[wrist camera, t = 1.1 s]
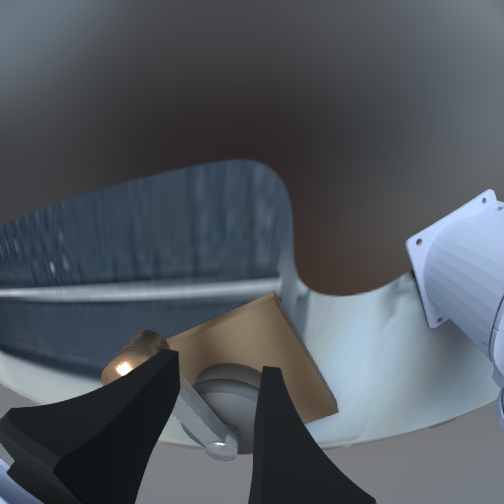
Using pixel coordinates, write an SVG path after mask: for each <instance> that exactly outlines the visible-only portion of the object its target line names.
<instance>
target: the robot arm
mask: <svg viewBox="0 0 504 504" xmlns="http://www.w3.org/2000/svg"><path fill="white" fill-rule="evenodd" d="M483 199H484V202H483V203H482V200H483ZM417 239H420V242H419V244H418V245H416V241H417ZM406 250H407V253H408V256H409V259H410V262H411V265H412V268H413V271H414V274H415V277H416V281H417V284H418V288H419V291H420V295H421V298H422V302H423V306H424V310H425V314H426V318H427V322H428V325H429V327H430V328H432V329H434V328H436V327H438V326H439V325H441V324H442V323H444V322H445V321H447V320H448V319H451V320H452V321H453V322H454V323H455V324H456V325H457V326H458V327H459V328H460V329H461V330H462V331H463V332H464V333H465V334H466V335H467V336H468V337H469V338H470V339H471V340H472V341H473V342H474V344H475V345H476V346H477V347H478V348H479V349H480V350H481V351H482V352H483V353H484V354H485V355H486V356H487V357H488V359H489V360H490V361H491V362H492V363H493V365H494V372H493V375H492V378H493V380H494V381H495V382H496V383H497V385H498V386H499V387H500V388H501V390H500V392H499V395H498V398H497V404H496V414H497V419H498V422H499V425H500V427H501V429H502V431H503V433H504V202H499V201H497V200H496V196H495V193H494V191H493V190H490V189H489V190H487V191H485V192H484V193H482V194H481V195H479V196H477V197H476V198H474V199H473V200H471V201H470V202H468V203H467V204H465V205H464V206H462V207H460V208H459V209H457V210H456V211H454V212H452V213H451V214H449V215H448V216H446V217H444V218H443V219H441V220H439V221H438V222H436V223H434V224H433V225H431V226H429V227H428V228H426V229H424V230H423V231H421V232H419V233H418V234H416V235H414V236H412V237H410V238H409V239H408V240H407V241H406ZM439 318H440V319H439ZM438 319H439V320H438ZM437 320H438V321H437ZM180 389H181V386H180V370H179V351H174V350H170V349H165V348H164V349H162V350H161V351H159V352H158V353H156V354H155V355H154V356H152V357H151V358H149V359H148V360H146V361H145V362H143V363H142V364H141V365H139V366H138V367H136V368H134V369H133V370H131V371H130V372H128V373H127V374H125V375H123V376H122V377H120V378H118V379H116V380H114V381H113V382H111V383H109V384H107V385H105V386H103V387H101V388H99V389H97V390H94V391H92V392H89V393H87V394H84V395H81V396H78V397H75V398H72V399H69V400H65V401H62V402H57V403H53V404H48V405H42V406H35V407H21V408H11V409H10V410H9V411H8V412H7V413H6V414H5V415H4V416H3V417H2V418H1V419H0V443H1V444H2V445H3V447H4V448H5V449H6V451H7V452H8V453H9V454H10V456H11V457H12V458H13V459H14V460H15V462H14V463H13V464H12V466H11V467H10V466H9V465H7V464H6V463H5V462H4V461H3V460H2V459H1V458H0V504H135V501H136V497H137V494H138V490H139V487H140V484H141V481H142V478H143V475H144V472H145V469H146V466H147V463H148V460H149V457H150V455H151V453H152V451H153V448H154V446H155V444H156V442H157V440H158V438H159V437H160V435H161V433H162V431H163V429H164V427H165V425H166V423H167V421H168V419H169V417H170V415H171V413H172V411H173V409H174V406H175V403H176V401H177V398H178V395H179V392H180ZM248 504H377V503H376V500H375V499H374V498H373V497H372V496H370V495H369V494H367V493H366V492H365V491H363V490H362V489H361V488H359V487H358V486H357V485H356V484H354V483H353V482H352V481H351V480H350V479H349V478H348V477H346V476H345V475H344V474H343V473H342V472H341V471H340V470H339V469H338V468H337V467H336V465H335V464H334V463H333V462H332V461H331V460H330V459H329V458H328V457H327V456H326V455H325V453H324V452H323V451H322V450H321V448H320V447H319V446H318V444H317V443H316V442H315V440H314V439H313V437H312V436H311V435H310V433H309V431H308V430H307V428H306V427H305V425H304V423H303V421H302V420H301V418H300V416H299V414H298V412H297V410H296V408H295V406H294V404H293V402H292V400H291V397H290V395H289V393H288V390H287V387H286V385H285V382H284V378H283V375H282V370H281V369H280V368H279V367H270V366H263V369H262V376H261V382H260V388H259V393H258V399H257V406H256V413H255V420H254V444H253V473H252V482H251V489H250V496H249V502H248Z"/></svg>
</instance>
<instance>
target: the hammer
mask: <svg viewBox="0 0 504 504" xmlns="http://www.w3.org/2000/svg"><path fill="white" fill-rule="evenodd" d="M164 348H165V349H170V346H169V344H168V343H167V341H166V340H165V339H164V338H163V337H162V336H161V335H159V334H157V333H156V332H153V331H150V330H140V331H138V332H137V333H135V335H134V336H133V337H132V338H131V339H130V340H129V341H128V343H127V344H126V345H125V346H124V347H123V348H122V350H121V351H120V352H119V353H118V354H117V355H116V357H115V358H114V359H113V360H112V361H111V362H110V364H109V365H108V366H107V367H106V368H105V369H104V371H103V372H102V375H101V379H102V383H103V385H104V386H105V385H107V384H109V383H111V382H113V381H114V380H116V379H118V378H120V377H122V376H123V375H125V374H127V373H128V372H130V371H131V370H133V369H134V368H136V367H138V366H139V365H141V364H142V363H143V362H145V361H146V360H148V359H149V358H151V357H152V356H154V355H155V354H156V353H158V352H159V351H161V350H162V349H164ZM170 350H171V349H170ZM180 386H181V389H180V392H179V395H178V398H177V401H176V403H175V406H174V409H173V411H172V413H173V414H174V415H175V416H176V417H177V418H178V419H179V420H180V421H181V422H182V423H183V424H184V426H185V427H186V428H187V429H188V430H189V431H190V432H191V433H192V434H193V435H194V436H195V437H196V438H198V439H199V440H200V441H201V442H202V443H203V444H204V445H205V446H206V449H205V452H206V453H207V455H208V456H210V457H212V458H214V459H216V460H221V461H230V460H233V459H235V458H236V456H237V450H238V445H239V439H240V430H239V429H238V428H237V427H235V426H234V425H231V424H228V423H223V422H222V421H221V420H220V419H219V417H218V416H217V415H216V414H215V413H214V412H213V411H212V410H211V408H210V407H209V406H208V405H207V404H206V403H205V401H204V400H203V399H202V398H201V397H200V396H199V394H198V393H197V392H196V391H195V389H194V388H193V387H192V386H191V385H190V383H189V382H188V381H187V380H186V378H185V377H184V376H183V374H182V373H181V372H180Z"/></svg>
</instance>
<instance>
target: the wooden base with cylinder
mask: <svg viewBox="0 0 504 504" xmlns="http://www.w3.org/2000/svg"><path fill="white" fill-rule="evenodd" d="M166 341H167V343H168V344H169V346H170V349H171V350H174V351H179V370H180V372H181V373H182V374H183V376H184V377H185V378H186V380H187V381H188V382H189V383H190V385H191V386H192V387H193V388H194V389H195V391H196V392H197V393H198V394H199V396H200V397H201V398H202V399H203V400H204V401H205V403H206V404H207V405H208V406H209V407H210V408H211V410H212V411H213V412H214V413H215V414H216V415H217V416H218V417H219V419H220V420H221V421H222V422H223V423H228V424H231V425H234V426H235V427H237V428H238V429H239V430H240V439H239V445H238V450H237V454H247V453H252V452H253V444H254V420H255V413H256V406H257V399H258V393H259V388H260V382H261V376H262V369H263V366H270V367H279V368H280V369H281V370H282V375H283V378H284V382H285V385H286V387H287V390H288V393H289V395H290V397H291V400H292V402H293V404H294V406H295V408H296V410H297V412H298V414H299V416H300V418H301V420H302V421H303V423H304V424H306V423H309V422H312V421H315V420H318V419H321V418H324V417H326V416H329V415H332V414H335V413H337V412H338V407H337V401H336V399H335V397H334V395H333V394H332V392H331V390H330V388H329V387H328V385H327V383H326V381H325V380H324V378H323V376H322V374H321V372H320V371H319V369H318V367H317V365H316V364H315V362H314V360H313V358H312V357H311V355H310V353H309V351H308V350H307V348H306V346H305V344H304V342H303V341H302V339H301V337H300V335H299V334H298V332H297V330H296V328H295V327H294V325H293V323H292V321H291V320H290V318H289V316H288V314H287V312H286V311H285V309H284V307H283V305H282V304H281V302H280V300H279V298H278V297H277V295H276V293H275V291H273V292H271V293H269V294H267V295H265V296H263V297H261V298H258V299H256V300H254V301H252V302H250V303H248V304H246V305H243V306H241V307H239V308H237V309H235V310H232V311H230V312H228V313H226V314H224V315H221V316H219V317H217V318H215V319H212V320H210V321H208V322H205V323H203V324H201V325H199V326H196V327H194V328H192V329H189V330H187V331H185V332H182V333H180V334H178V335H175V336H173V337H170V338H168V339H166ZM181 424H182V427H183V429H184V431H185V432H186V434H187V435H188V436H189V437H190V438H191V439H193V440H194V441H195V442H197V443H198V444H200V445H202V446H204V447H206V446H205V445H204V444H203V443H202V442H201V441H200V440H199V439H198V438H196V437H195V436H194V435H193V434H192V433H191V432H190V431H189V430H188V429H187V428H186V427H185V426H184V424H183V423H182V422H181Z"/></svg>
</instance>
